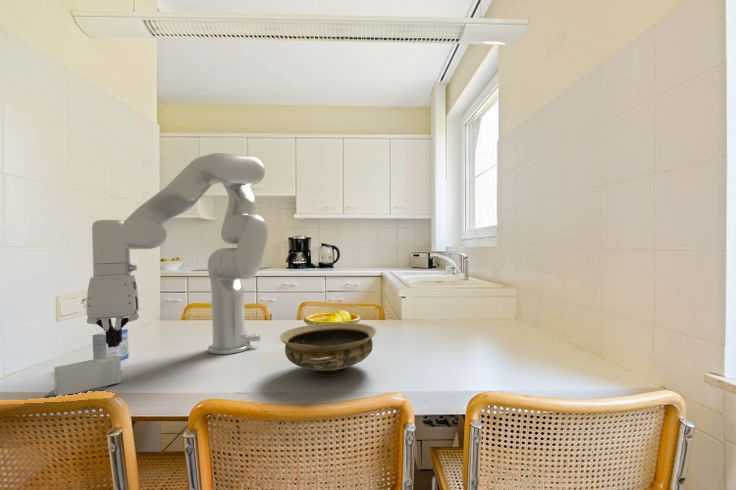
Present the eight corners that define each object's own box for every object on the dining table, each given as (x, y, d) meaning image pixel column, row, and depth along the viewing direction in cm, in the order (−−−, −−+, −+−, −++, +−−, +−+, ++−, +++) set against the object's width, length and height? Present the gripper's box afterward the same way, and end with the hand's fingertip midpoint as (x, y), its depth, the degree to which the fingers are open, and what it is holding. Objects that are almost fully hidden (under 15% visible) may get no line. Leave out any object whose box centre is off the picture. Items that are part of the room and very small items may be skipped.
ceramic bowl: (295, 355, 112) (294, 320, 112) (377, 353, 111) (376, 319, 111) (264, 395, 82) (263, 348, 82) (376, 394, 81) (375, 346, 81)
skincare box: (116, 354, 94) (53, 365, 86) (121, 357, 91) (57, 369, 82) (116, 379, 94) (53, 393, 85) (121, 383, 91) (56, 398, 82)
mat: (122, 371, 101) (122, 370, 101) (103, 390, 87) (103, 389, 87) (72, 377, 97) (72, 375, 97) (44, 398, 84) (44, 396, 84)
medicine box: (106, 366, 106) (105, 334, 106) (92, 365, 107) (91, 334, 107) (129, 357, 114) (128, 328, 114) (116, 357, 115) (115, 328, 115)
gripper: (150, 268, 99) (152, 339, 99) (82, 271, 95) (84, 345, 95) (142, 270, 92) (144, 346, 92) (68, 273, 88) (71, 353, 88)
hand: (114, 345), depth 94 cm, fingers closed
